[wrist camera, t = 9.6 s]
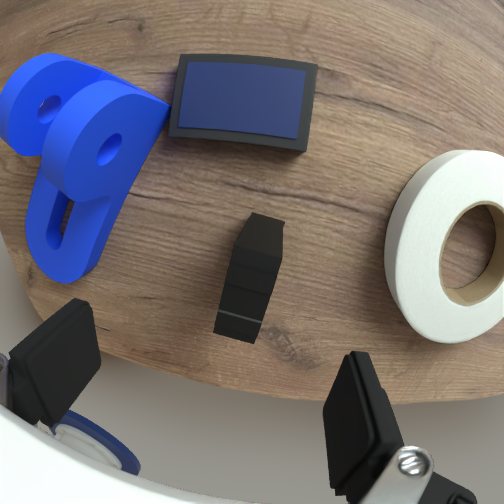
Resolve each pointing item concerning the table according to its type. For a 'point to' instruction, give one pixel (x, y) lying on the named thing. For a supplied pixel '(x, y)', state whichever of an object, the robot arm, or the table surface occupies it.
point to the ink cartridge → (250, 278)
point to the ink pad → (243, 100)
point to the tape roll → (433, 241)
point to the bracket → (77, 153)
